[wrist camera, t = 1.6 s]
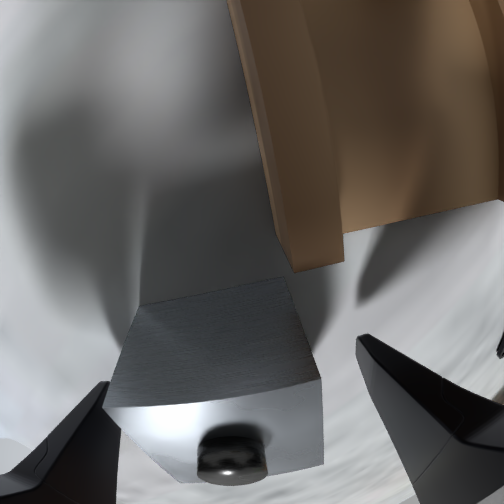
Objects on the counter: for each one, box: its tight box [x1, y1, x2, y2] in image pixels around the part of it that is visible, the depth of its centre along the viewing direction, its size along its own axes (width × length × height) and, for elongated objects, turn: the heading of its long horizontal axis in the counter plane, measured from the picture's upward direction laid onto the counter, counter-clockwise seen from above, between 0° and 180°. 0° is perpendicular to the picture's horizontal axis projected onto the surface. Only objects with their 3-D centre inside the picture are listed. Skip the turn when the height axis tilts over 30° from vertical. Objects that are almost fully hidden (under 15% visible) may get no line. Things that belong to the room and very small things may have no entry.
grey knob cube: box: [102, 277, 324, 486], centre depth 8 cm, size 5×5×5 cm
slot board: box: [226, 0, 504, 273], centre depth 5 cm, size 10×13×2 cm
